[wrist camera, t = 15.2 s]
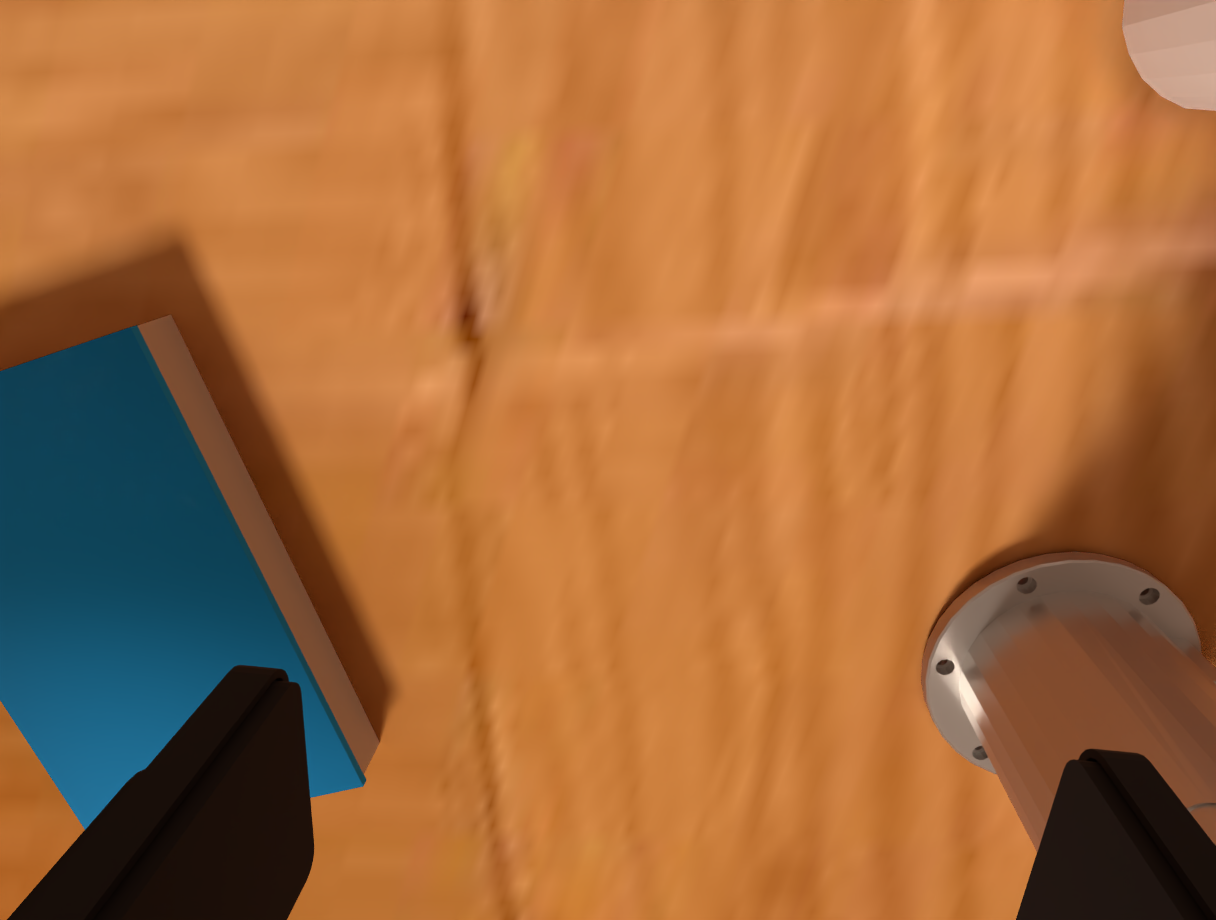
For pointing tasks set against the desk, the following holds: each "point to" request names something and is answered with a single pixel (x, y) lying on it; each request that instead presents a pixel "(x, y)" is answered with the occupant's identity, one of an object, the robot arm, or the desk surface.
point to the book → (144, 570)
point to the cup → (1174, 48)
